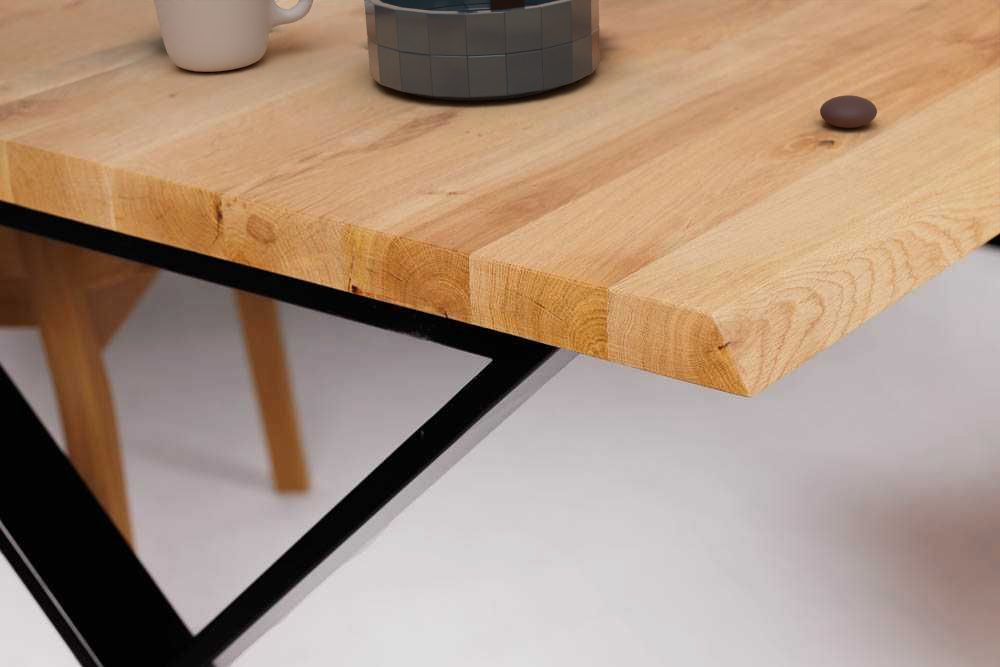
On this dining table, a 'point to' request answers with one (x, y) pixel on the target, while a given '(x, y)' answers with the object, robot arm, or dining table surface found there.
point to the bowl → (481, 47)
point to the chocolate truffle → (848, 111)
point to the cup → (221, 30)
